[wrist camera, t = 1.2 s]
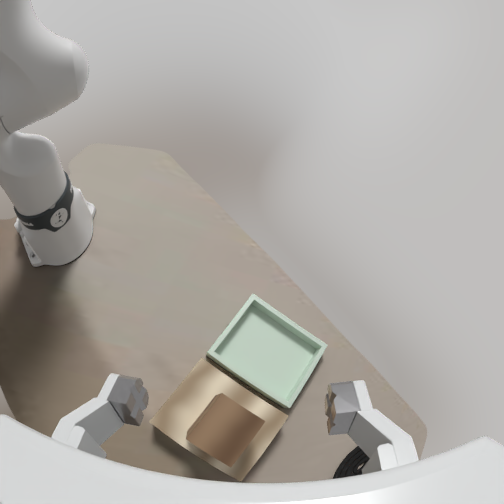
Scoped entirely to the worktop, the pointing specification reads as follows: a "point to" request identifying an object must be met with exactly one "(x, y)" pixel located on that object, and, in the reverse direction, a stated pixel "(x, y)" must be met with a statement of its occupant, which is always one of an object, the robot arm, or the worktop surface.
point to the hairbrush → (352, 464)
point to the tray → (267, 351)
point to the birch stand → (196, 400)
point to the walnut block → (224, 429)
